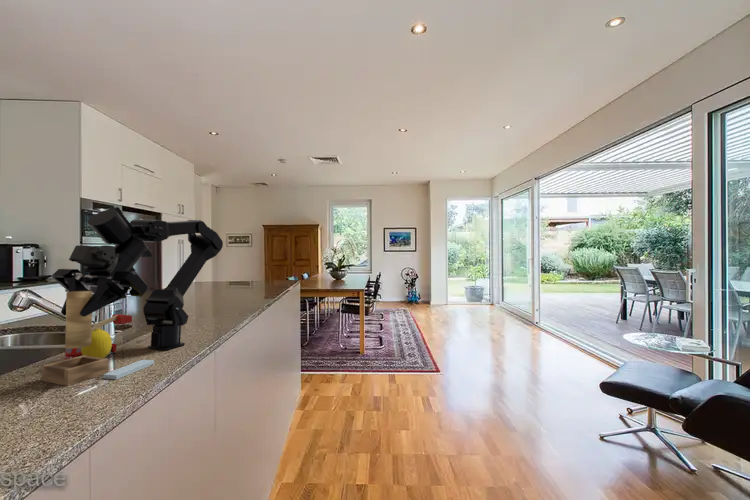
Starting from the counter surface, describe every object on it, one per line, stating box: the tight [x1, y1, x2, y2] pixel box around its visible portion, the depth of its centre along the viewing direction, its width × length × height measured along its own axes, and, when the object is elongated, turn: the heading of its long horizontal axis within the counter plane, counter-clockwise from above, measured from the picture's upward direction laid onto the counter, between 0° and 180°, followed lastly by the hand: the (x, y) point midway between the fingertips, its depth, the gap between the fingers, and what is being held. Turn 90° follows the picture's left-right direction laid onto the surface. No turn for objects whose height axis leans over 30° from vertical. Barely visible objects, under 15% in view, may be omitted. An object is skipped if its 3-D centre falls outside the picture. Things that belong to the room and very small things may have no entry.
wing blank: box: [102, 359, 155, 380], centre depth 74 cm, size 10×3×1 cm, turn 173°
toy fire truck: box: [64, 313, 133, 360], centre depth 84 cm, size 3×14×10 cm, turn 162°
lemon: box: [81, 329, 113, 359], centre depth 79 cm, size 6×6×8 cm
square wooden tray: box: [41, 355, 109, 387], centre depth 70 cm, size 8×8×3 cm
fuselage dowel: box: [64, 290, 93, 349], centre depth 69 cm, size 4×4×11 cm
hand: (72, 314), depth 68 cm, fingers closed on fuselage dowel, 4 cm apart
